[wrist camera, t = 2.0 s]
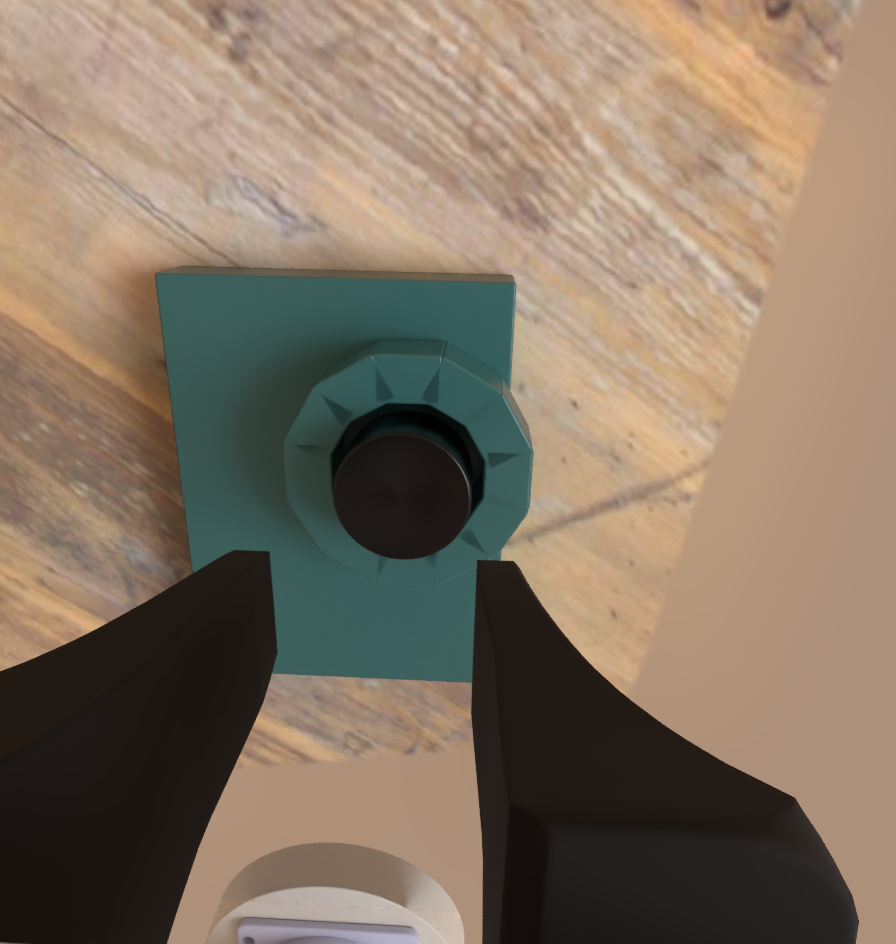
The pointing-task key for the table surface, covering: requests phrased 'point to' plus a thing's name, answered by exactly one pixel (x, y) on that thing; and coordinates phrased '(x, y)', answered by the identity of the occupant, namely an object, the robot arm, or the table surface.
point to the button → (404, 486)
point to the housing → (342, 447)
